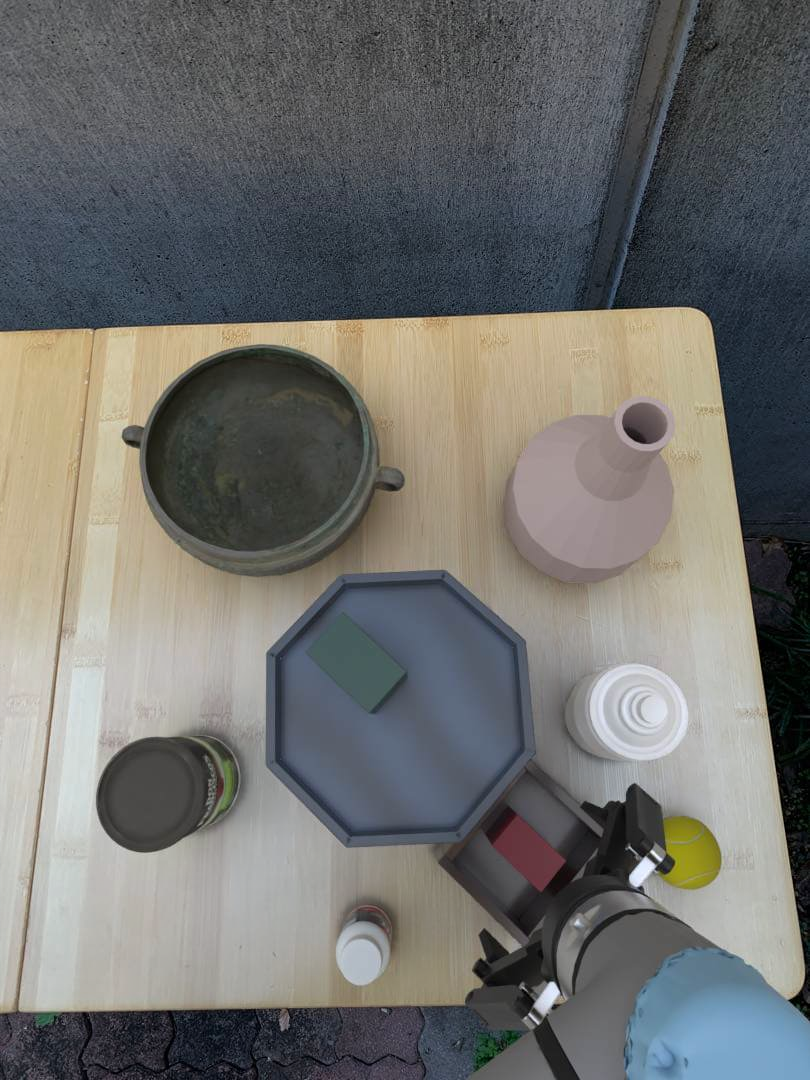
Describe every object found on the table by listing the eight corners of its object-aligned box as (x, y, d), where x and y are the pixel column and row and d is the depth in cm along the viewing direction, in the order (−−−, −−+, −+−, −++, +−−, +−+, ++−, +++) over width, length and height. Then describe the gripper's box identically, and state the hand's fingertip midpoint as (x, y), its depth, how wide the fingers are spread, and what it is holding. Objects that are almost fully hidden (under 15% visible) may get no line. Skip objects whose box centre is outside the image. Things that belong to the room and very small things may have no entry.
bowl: (423, 417, 89) (424, 358, 74) (386, 613, 82) (380, 591, 68) (184, 379, 90) (140, 315, 76) (130, 568, 84) (71, 537, 70)
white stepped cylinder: (571, 783, 77) (642, 813, 53) (527, 696, 79) (576, 686, 55) (660, 738, 78) (770, 747, 54) (614, 653, 81) (699, 625, 56)
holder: (518, 931, 73) (528, 952, 67) (435, 849, 75) (437, 862, 69) (599, 828, 76) (617, 839, 69) (516, 752, 78) (526, 755, 71)
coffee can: (244, 734, 79) (208, 737, 65) (237, 829, 76) (199, 854, 63) (156, 732, 79) (102, 736, 65) (146, 828, 76) (88, 852, 63)
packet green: (374, 714, 55) (369, 713, 48) (318, 660, 56) (304, 652, 49) (408, 677, 56) (407, 671, 49) (351, 624, 57) (342, 611, 50)
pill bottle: (402, 925, 74) (400, 955, 64) (373, 970, 72) (366, 1008, 63) (362, 893, 74) (354, 918, 65) (332, 937, 73) (320, 969, 64)
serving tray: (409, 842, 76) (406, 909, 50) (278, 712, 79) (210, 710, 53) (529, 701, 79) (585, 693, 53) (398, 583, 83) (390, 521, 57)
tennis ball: (631, 822, 76) (652, 833, 69) (689, 804, 76) (716, 812, 69) (654, 888, 74) (678, 906, 67) (714, 869, 74) (744, 885, 68)
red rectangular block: (529, 876, 74) (541, 893, 67) (484, 834, 75) (491, 845, 68) (552, 847, 75) (566, 860, 68) (508, 805, 76) (517, 814, 69)
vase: (633, 459, 87) (742, 329, 58) (641, 595, 82) (764, 529, 53) (495, 455, 87) (535, 325, 58) (496, 591, 83) (539, 524, 54)
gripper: (698, 740, 41) (600, 735, 61) (419, 1103, 36) (414, 965, 56) (804, 831, 39) (667, 794, 60) (529, 1220, 35) (483, 1036, 55)
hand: (545, 877), depth 58 cm, fingers open, 13 cm apart
